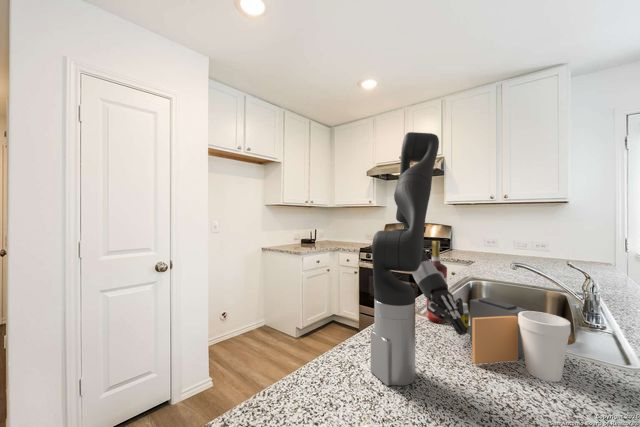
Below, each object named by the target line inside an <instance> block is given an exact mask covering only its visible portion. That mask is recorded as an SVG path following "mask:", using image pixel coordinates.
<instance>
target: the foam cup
mask: <svg viewBox="0 0 640 427" xmlns="http://www.w3.org/2000/svg"><path fill="white" fill-rule="evenodd" d="M518 324H519V326H520V332H521V338H522V345H523V351H524V356H523V357H524V364H525V367H526V371H527V372H528V374H529V375H531V376H533V377H535V378H538V379H540V380H542V381H547V382H551V383H552V382H554V383H557V382H561V380H562V376H563V373H564V367H565V366H564V365H565V362H566V356H567V348H568V344H569V342H568V341H569V336H570V335H571V333H572V332H571V330H572V329H571V322H570V320H568V319H567V318H564V317H562V316H559V315H555V314H552V313H547V312H541V311H533V310H527V311H522V312H519V313H518Z"/></svg>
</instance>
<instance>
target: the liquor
mask: <svg viewBox="0 0 640 427" xmlns="http://www.w3.org/2000/svg"><path fill="white" fill-rule="evenodd" d="M431 248H432V249H431V250H432V251H431V260H430V262H431V263H432V264H433V265H434V266H435V267H436V269H437V270H438V272H439V273H440V275H441V276H442V277H443V279H444V280H445V282H446V283H447V284H448V282H447V280H448V279H447V278H448V267H447V266H446V265H445V264H443V263H441V255H440V248H441V241H440V240H431ZM429 304H430V302H429V299H428V298H426V308H427V307H428V306H429ZM441 315H442V314H441ZM425 317H426V318H427V319H428V320H429V321H430V320H431V321H430V322H432V321H433V323H437V322H440V323H442V322H443V321H442V320H441V319H439V318H438V317H437V316H435V315H434V314H432V313H431V312H430V311H428V310H427V309H426V313H425Z"/></svg>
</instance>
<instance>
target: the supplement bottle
mask: <svg viewBox="0 0 640 427" xmlns="http://www.w3.org/2000/svg"><path fill="white" fill-rule="evenodd" d="M463 311H464V315H463V316H461V320H462V322H463V323H464V325H465V326H466V328H467V330H468V331H470V326H469V325H470V321H469V320H470V310H468V303H467V302H464V301H463ZM453 313H454V312H453ZM452 329H453V330H455V329H454V328H453V327H452Z"/></svg>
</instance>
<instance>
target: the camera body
mask: <svg viewBox="0 0 640 427" xmlns="http://www.w3.org/2000/svg"><path fill="white" fill-rule="evenodd" d="M522 311H528V309H527V308H523V307H518V306H517V305H516V304H513V303H512V304H511V303H509V302H505V301H502V300H497V299H495V298H494V299H493V298H491V297H490V298H489V297H479V298H478V297H477V298H473V299H470V300H469V320H470V321H469V325H470V326H469V331H470V332H469V337H470V338H469V339H470V340H469V341H470V342H472V318H480V317H498V316H517V317H518V313H519V312H522ZM523 357H524V351H523V345H522V338H521V332H520V326H519V324H518V359H520V358H523Z"/></svg>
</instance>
